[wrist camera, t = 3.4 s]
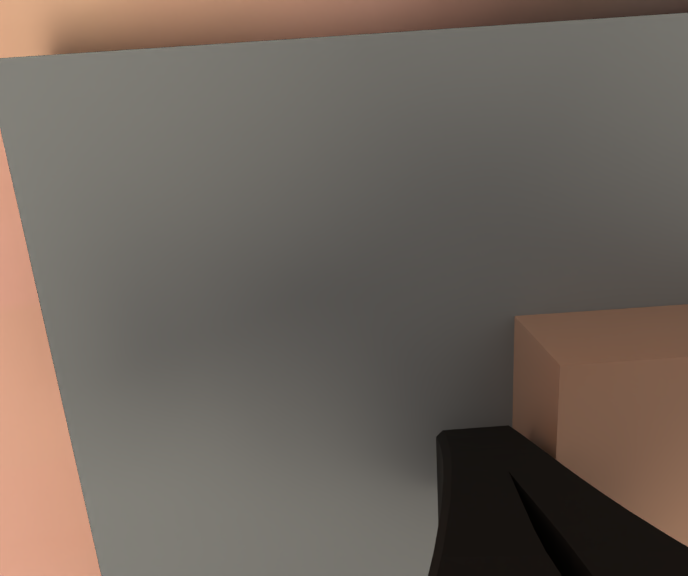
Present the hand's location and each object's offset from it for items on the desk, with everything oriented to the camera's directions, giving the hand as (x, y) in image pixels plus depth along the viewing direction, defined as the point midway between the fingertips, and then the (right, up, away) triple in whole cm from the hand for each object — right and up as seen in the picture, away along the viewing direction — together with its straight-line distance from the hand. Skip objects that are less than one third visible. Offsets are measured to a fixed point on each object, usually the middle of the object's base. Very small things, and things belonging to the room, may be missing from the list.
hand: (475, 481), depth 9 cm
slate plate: (0, +1, +3) cm, 3 cm away
